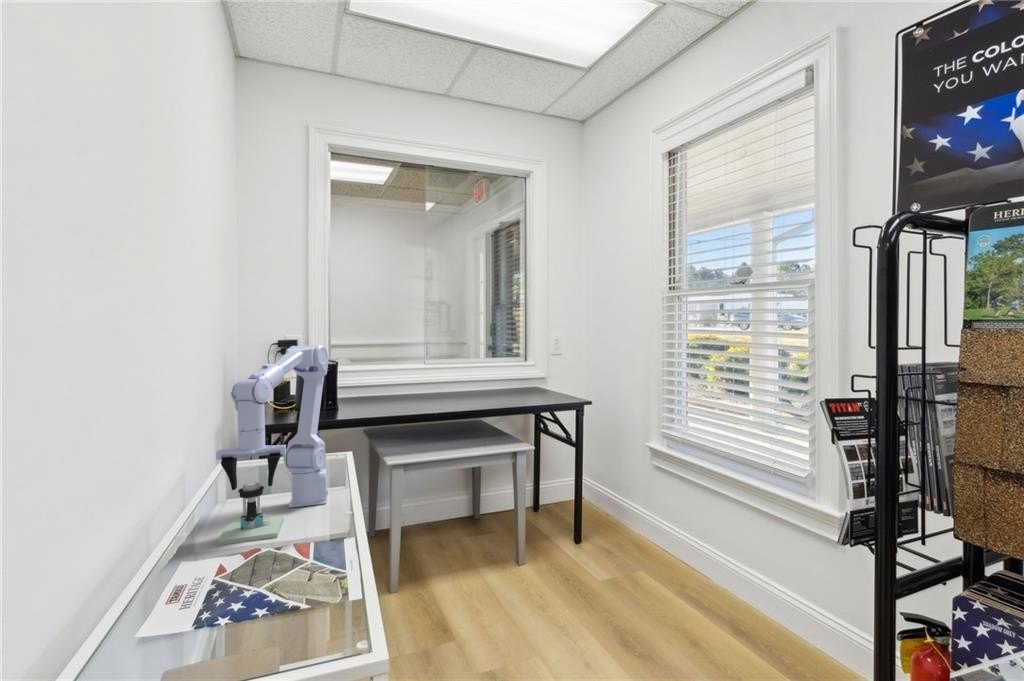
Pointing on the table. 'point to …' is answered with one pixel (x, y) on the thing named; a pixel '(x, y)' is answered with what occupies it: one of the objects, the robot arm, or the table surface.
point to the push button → (251, 506)
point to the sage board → (251, 532)
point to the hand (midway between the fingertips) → (252, 487)
